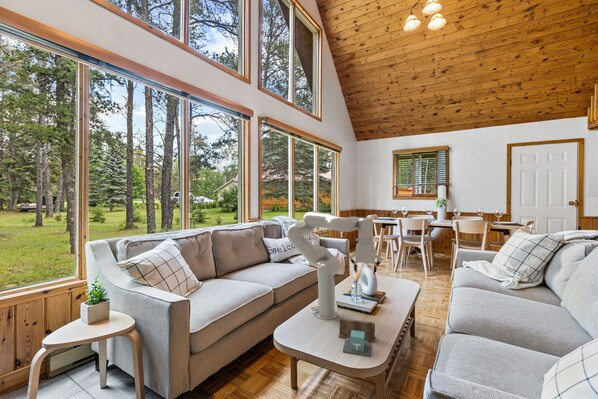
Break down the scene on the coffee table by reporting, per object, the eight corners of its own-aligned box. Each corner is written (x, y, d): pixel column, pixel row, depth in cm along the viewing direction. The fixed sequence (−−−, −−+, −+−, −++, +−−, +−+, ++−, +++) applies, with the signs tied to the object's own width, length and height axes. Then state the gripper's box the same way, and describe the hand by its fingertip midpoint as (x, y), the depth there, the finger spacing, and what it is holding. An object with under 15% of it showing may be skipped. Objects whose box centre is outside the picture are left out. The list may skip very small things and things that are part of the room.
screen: (338, 337, 137) (338, 321, 136) (340, 331, 142) (340, 316, 142) (374, 342, 132) (374, 326, 132) (374, 336, 138) (375, 320, 137)
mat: (342, 352, 124) (342, 350, 124) (345, 340, 134) (345, 339, 134) (370, 356, 121) (370, 355, 121) (371, 344, 130) (371, 343, 130)
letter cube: (350, 349, 125) (350, 336, 125) (351, 342, 131) (351, 330, 131) (363, 351, 123) (363, 338, 123) (364, 344, 129) (364, 331, 129)
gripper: (348, 241, 147) (348, 273, 148) (382, 243, 142) (382, 276, 143) (349, 239, 154) (349, 269, 155) (382, 240, 150) (382, 272, 150)
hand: (365, 272), depth 149 cm, fingers open, 9 cm apart
